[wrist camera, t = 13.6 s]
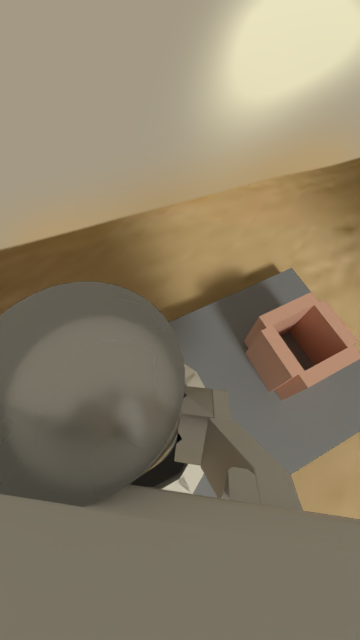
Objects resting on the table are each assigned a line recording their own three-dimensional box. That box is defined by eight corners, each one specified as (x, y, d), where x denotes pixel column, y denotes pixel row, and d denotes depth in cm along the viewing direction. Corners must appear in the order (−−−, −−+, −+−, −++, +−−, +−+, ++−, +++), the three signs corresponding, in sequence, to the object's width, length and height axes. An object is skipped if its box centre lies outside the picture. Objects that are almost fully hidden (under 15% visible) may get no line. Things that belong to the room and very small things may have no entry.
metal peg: (160, 381, 17) (134, 255, 6) (190, 446, 15) (226, 431, 5) (97, 412, 16) (-62, 328, 5) (122, 483, 15) (-27, 571, 4)
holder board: (285, 278, 24) (313, 232, 19) (386, 407, 20) (457, 392, 15) (42, 387, 20) (-3, 365, 15) (99, 585, 15) (62, 650, 10)
